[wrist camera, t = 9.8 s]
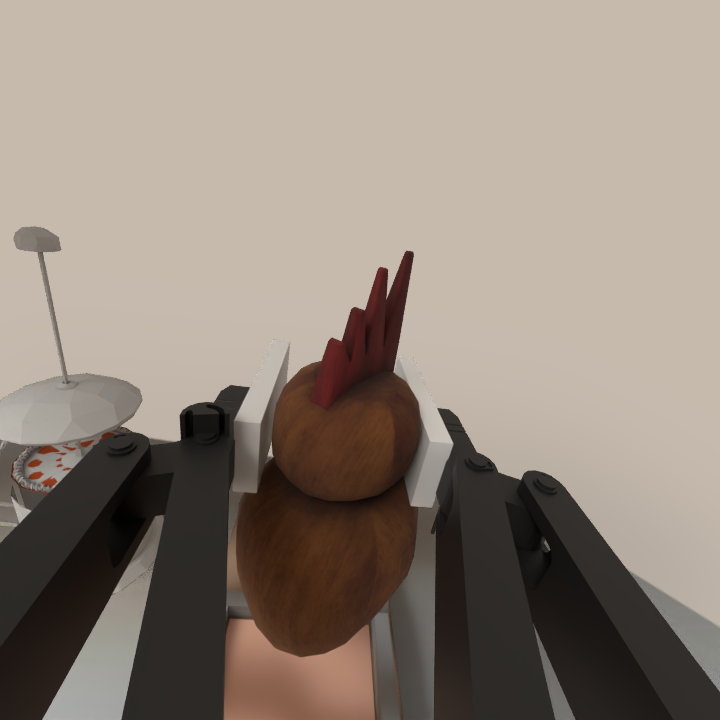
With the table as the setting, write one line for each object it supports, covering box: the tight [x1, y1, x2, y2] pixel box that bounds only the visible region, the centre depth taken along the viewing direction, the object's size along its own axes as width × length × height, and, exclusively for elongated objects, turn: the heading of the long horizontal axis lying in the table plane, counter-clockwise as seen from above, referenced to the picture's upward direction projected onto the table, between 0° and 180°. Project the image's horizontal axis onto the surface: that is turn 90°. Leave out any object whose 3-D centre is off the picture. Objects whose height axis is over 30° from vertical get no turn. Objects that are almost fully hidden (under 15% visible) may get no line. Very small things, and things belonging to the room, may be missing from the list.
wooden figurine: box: [236, 251, 421, 657], centre depth 12 cm, size 7×6×15 cm
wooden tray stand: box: [224, 517, 403, 720], centre depth 22 cm, size 24×13×15 cm, turn 3°
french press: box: [0, 227, 164, 594], centre depth 23 cm, size 10×12×25 cm
